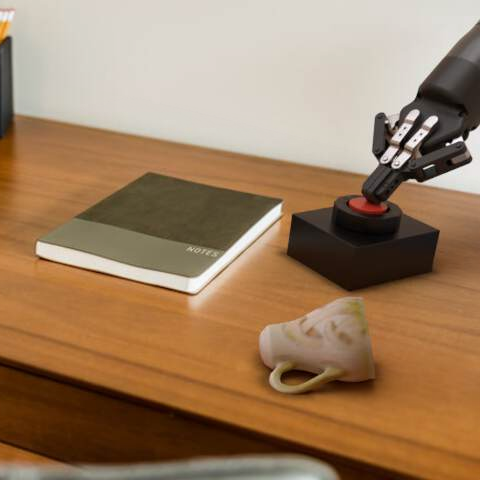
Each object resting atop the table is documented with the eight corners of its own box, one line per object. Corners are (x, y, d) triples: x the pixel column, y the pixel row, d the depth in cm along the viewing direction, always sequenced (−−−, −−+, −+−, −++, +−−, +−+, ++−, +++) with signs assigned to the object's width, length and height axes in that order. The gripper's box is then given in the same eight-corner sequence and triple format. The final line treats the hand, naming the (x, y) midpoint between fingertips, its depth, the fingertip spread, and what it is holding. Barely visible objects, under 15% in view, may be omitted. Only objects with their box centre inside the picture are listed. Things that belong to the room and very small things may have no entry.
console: (366, 240, 105) (375, 184, 103) (431, 274, 97) (443, 214, 95) (285, 257, 100) (293, 197, 97) (348, 294, 92) (359, 231, 89)
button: (365, 212, 99) (368, 195, 98) (392, 225, 96) (395, 207, 95) (338, 217, 97) (341, 200, 96) (364, 231, 94) (367, 212, 93)
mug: (245, 346, 81) (310, 257, 79) (336, 409, 80) (404, 320, 78) (240, 369, 74) (311, 271, 72) (340, 438, 73) (415, 341, 71)
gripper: (413, 42, 99) (312, 159, 98) (513, 68, 89) (401, 199, 88) (437, 86, 104) (341, 198, 103) (535, 116, 94) (429, 241, 93)
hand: (369, 198), depth 96 cm, fingers closed
